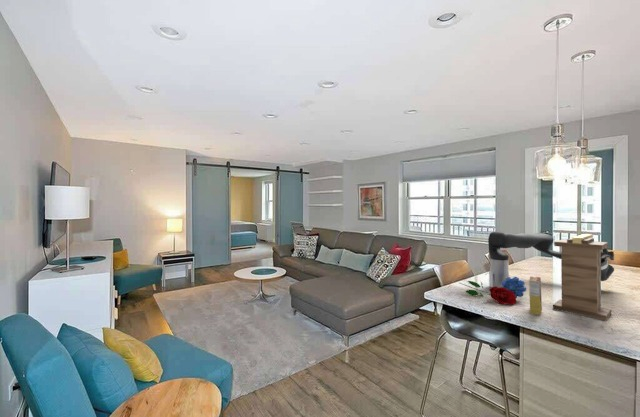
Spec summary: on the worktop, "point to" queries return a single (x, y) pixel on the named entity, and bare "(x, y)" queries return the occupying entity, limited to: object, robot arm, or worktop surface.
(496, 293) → the flower
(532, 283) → the candy box
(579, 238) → the bar
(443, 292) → the worktop surface
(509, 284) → the grapes
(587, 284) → the walnut post
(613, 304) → the worktop surface
